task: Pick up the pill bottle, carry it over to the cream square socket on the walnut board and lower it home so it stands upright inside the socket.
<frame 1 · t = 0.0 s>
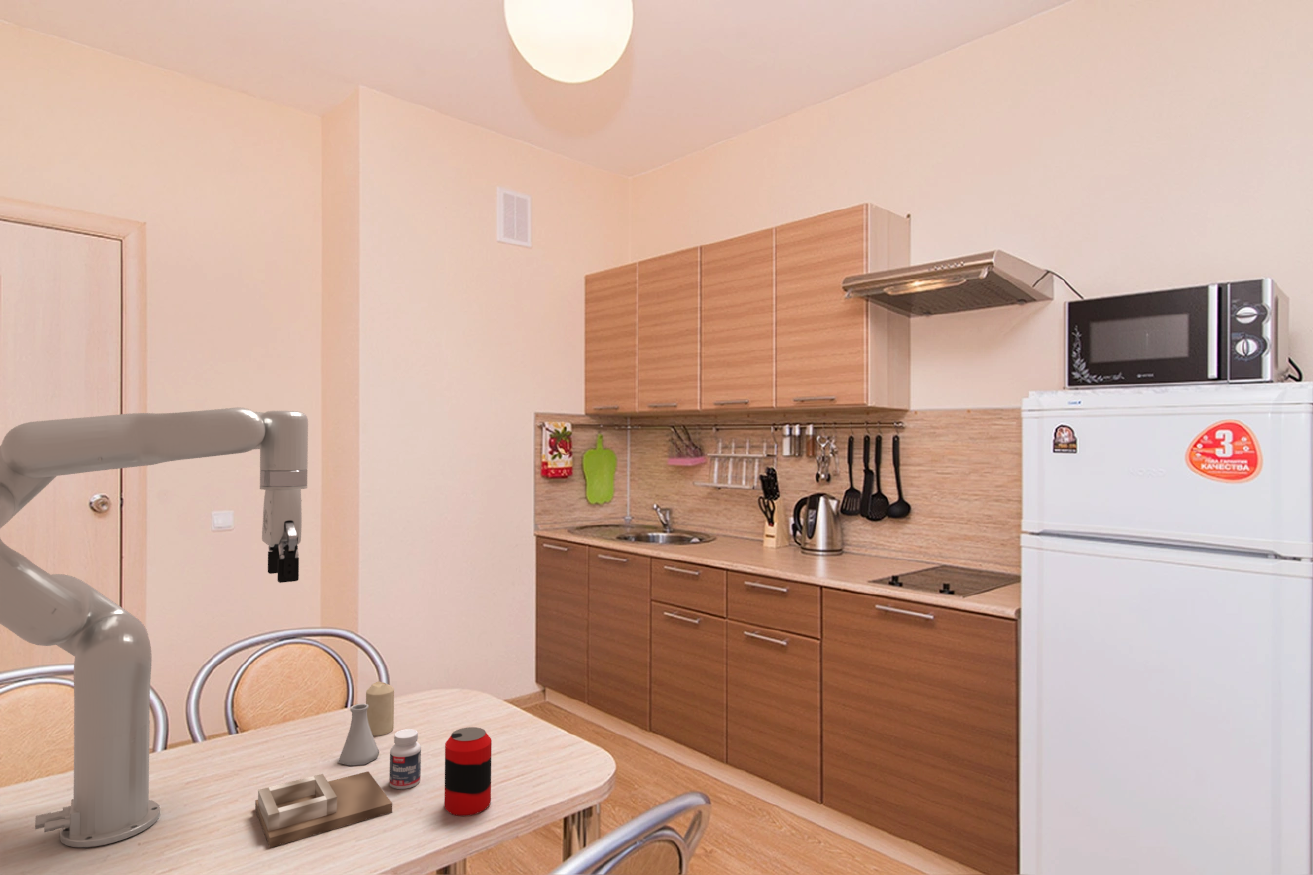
hand: (282, 577, 129), 37 cm above the table, tool pointing down, fingers open, 9 cm apart
pill bottle: (405, 783, 130), on the table
socket board: (323, 810, 120), on the table
soda can: (467, 806, 122), on the table
candle: (379, 731, 153), on the table
flask: (359, 759, 140), on the table
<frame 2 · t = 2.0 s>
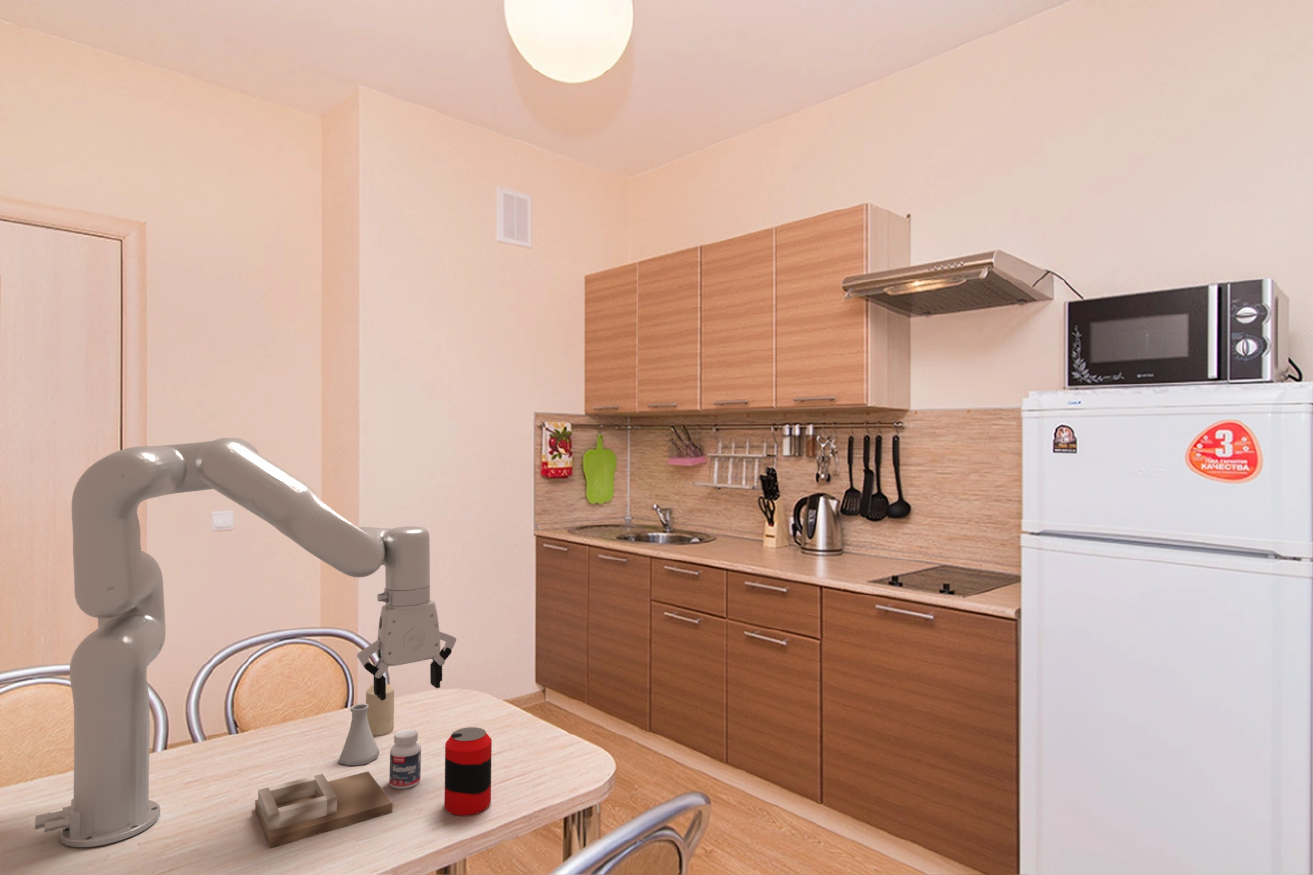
hand: (408, 691, 130), 16 cm above the table, tool pointing down, fingers open, 9 cm apart
nothing on the table moved.
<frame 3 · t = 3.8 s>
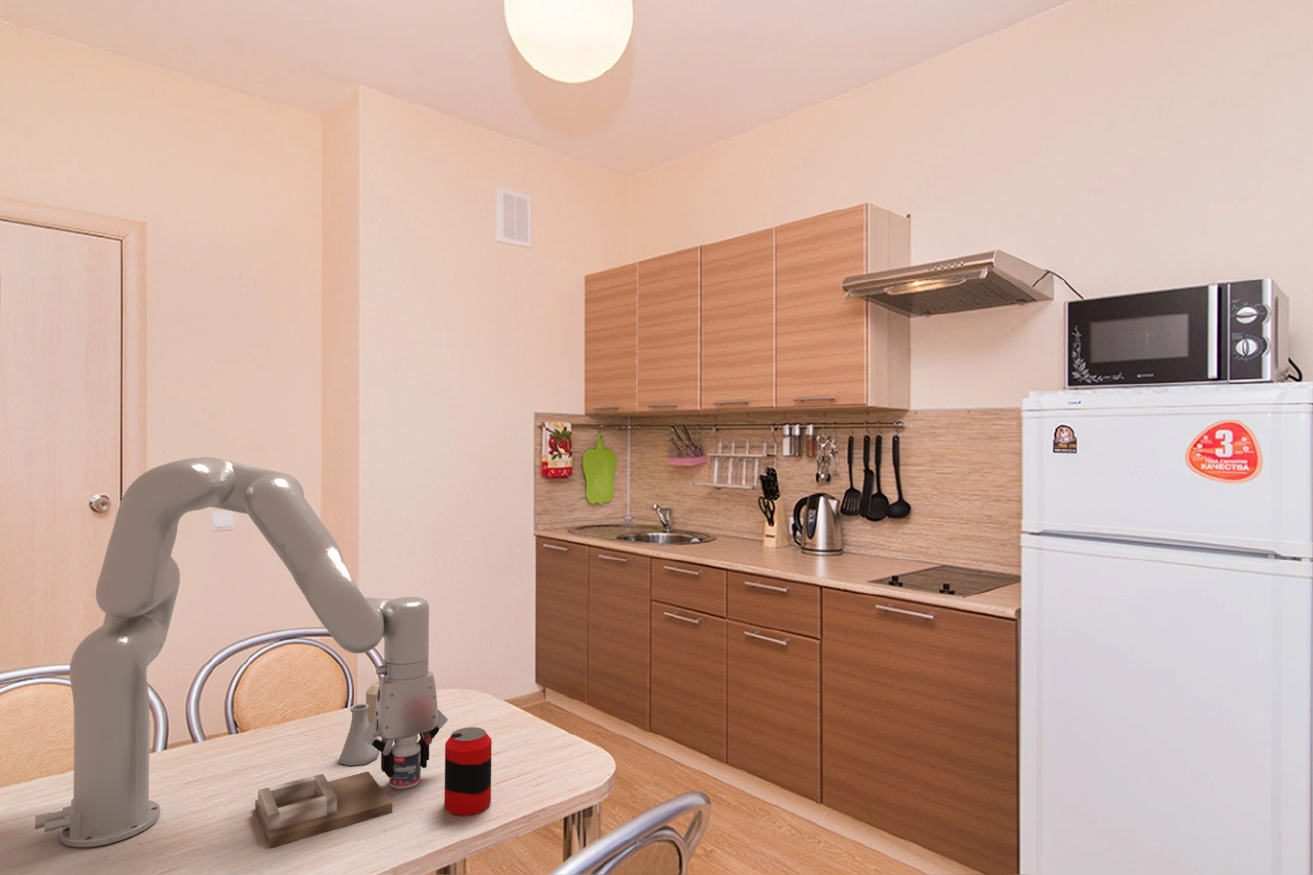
hand: (405, 768, 130), 3 cm above the table, tool pointing down, fingers closed on pill bottle, 5 cm apart
pill bottle: (405, 783, 130), on the table, touching gripper
everything else where it was.
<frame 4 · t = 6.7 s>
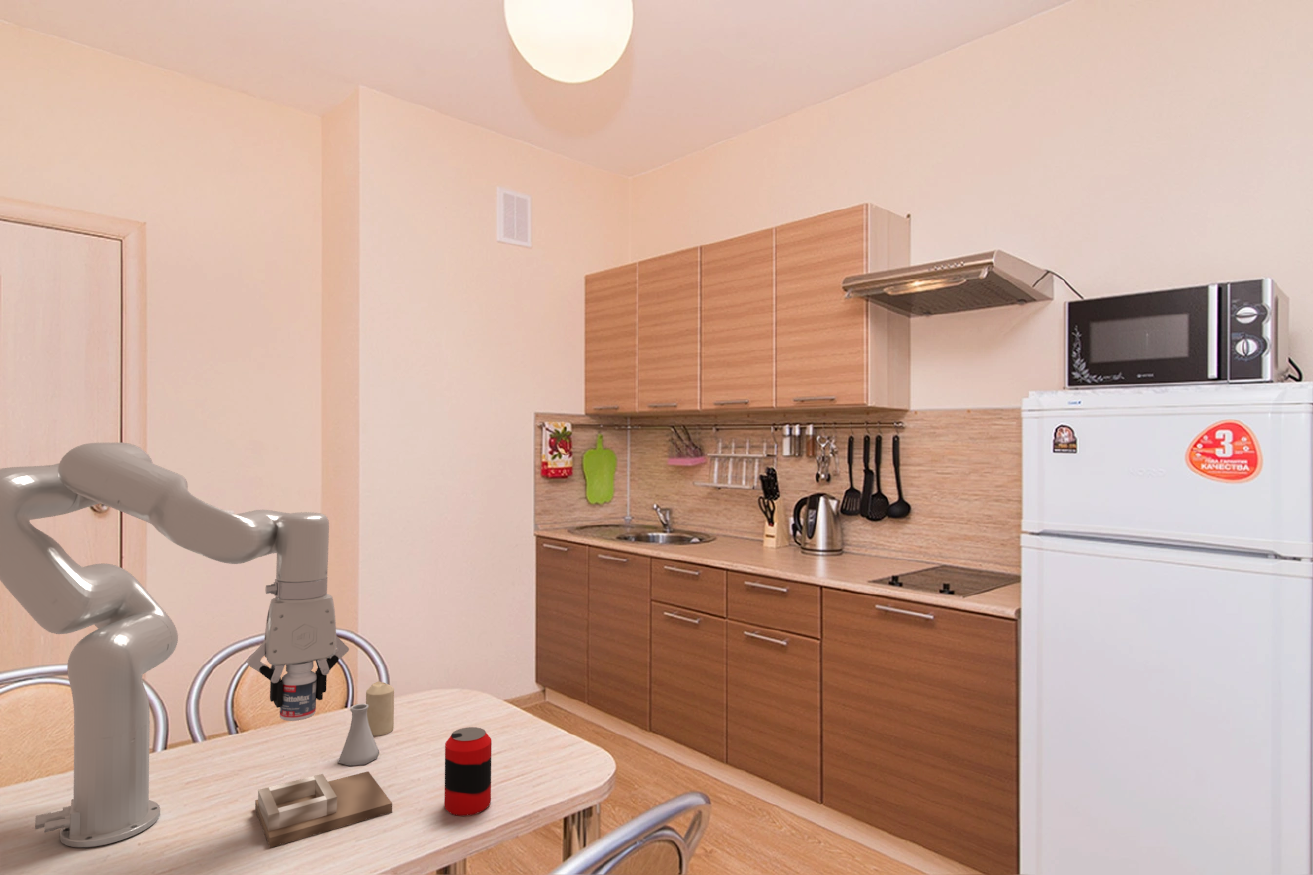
hand: (298, 699, 118), 19 cm above the table, tool pointing down, fingers closed on pill bottle, 5 cm apart
pill bottle: (297, 716, 118), point 16 cm above the table, touching gripper
everything else where it was.
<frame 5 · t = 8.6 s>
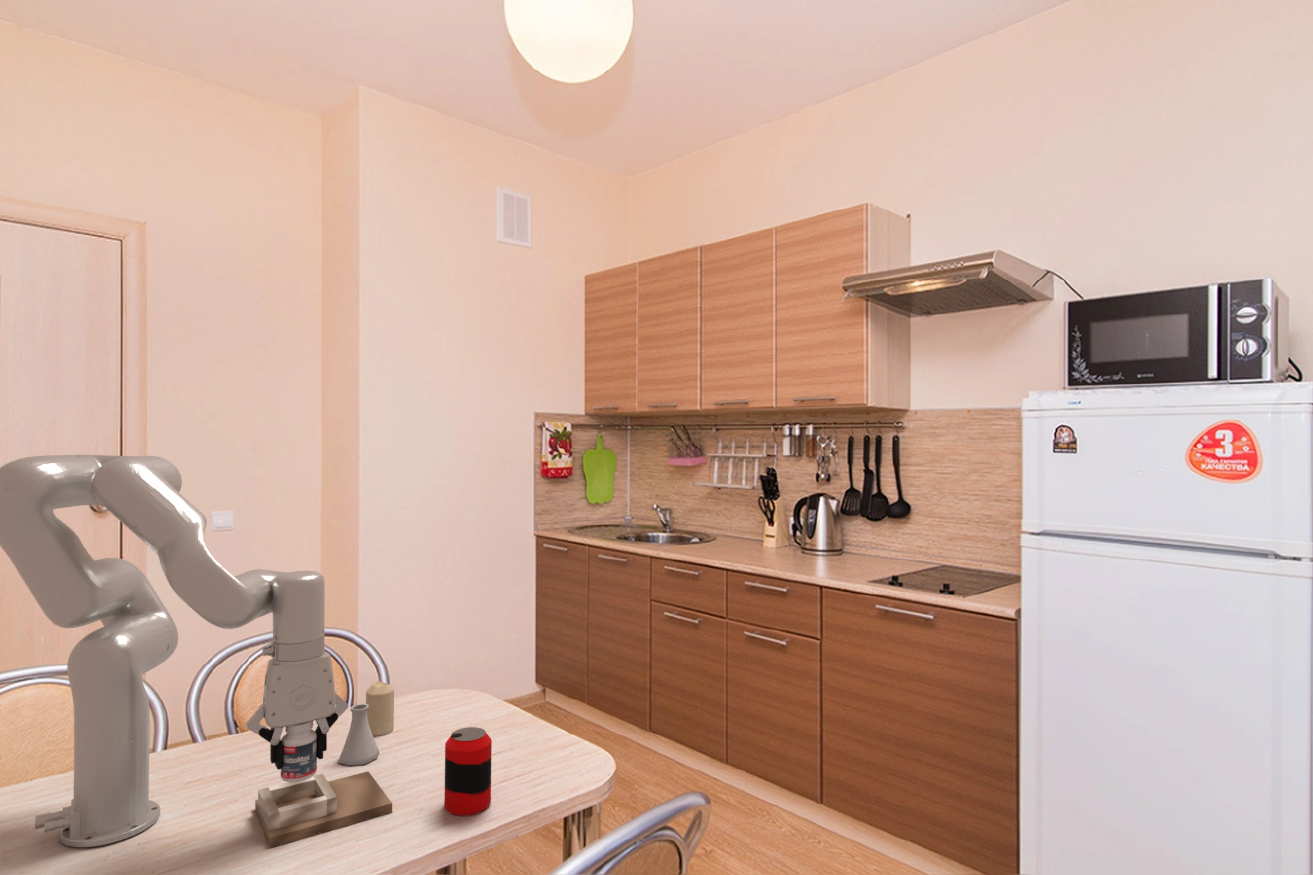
hand: (299, 759, 118), 9 cm above the table, tool pointing down, fingers closed on pill bottle, 5 cm apart
pill bottle: (299, 776, 118), point 7 cm above the table, touching gripper
everything else where it was.
when the fingers open (5 cm above the table, at t = 9.9 s): pill bottle stays where it is, resting on socket board.
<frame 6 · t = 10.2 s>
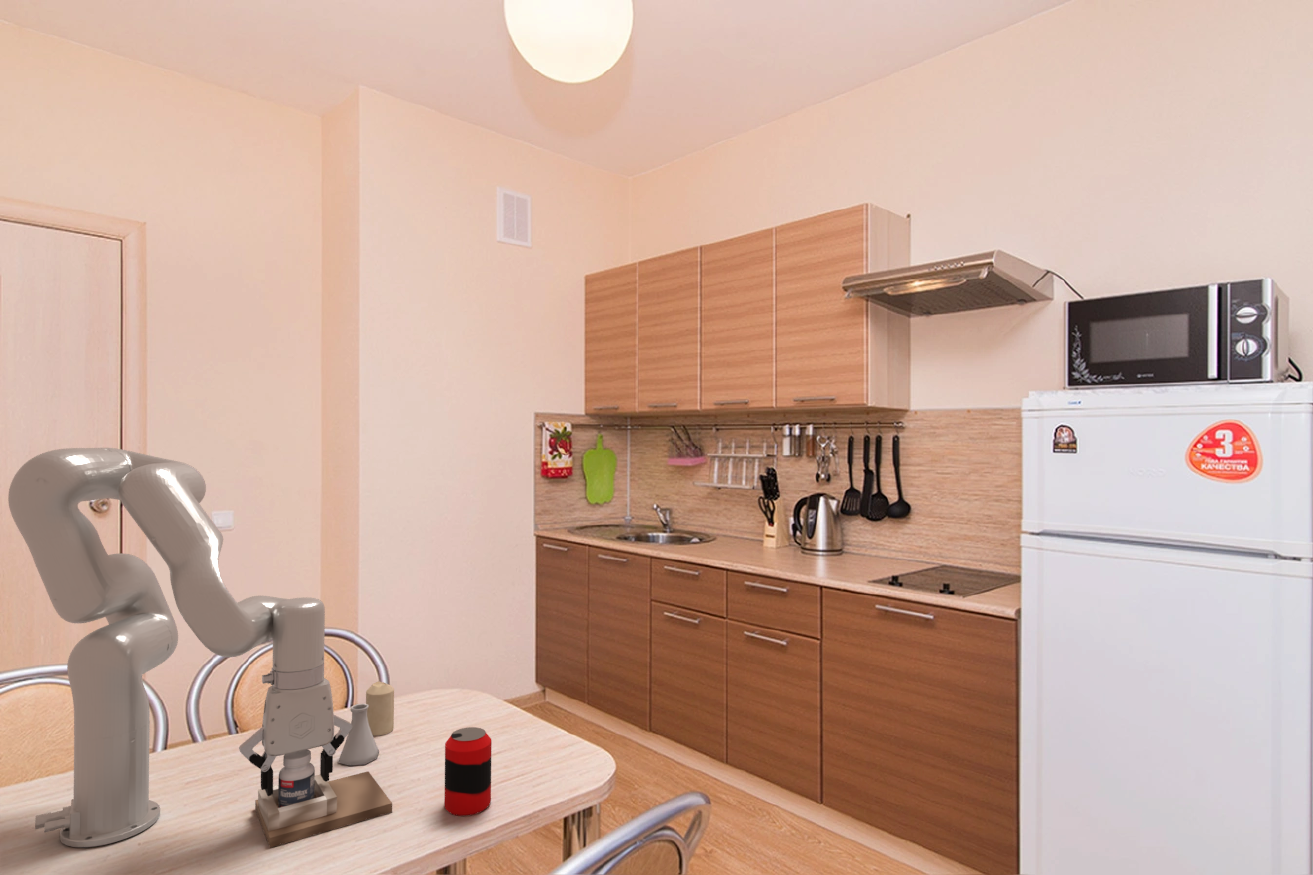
hand: (297, 784, 118), 5 cm above the table, tool pointing down, fingers open, 7 cm apart
pill bottle: (296, 809, 118), point 1 cm above the table, touching socket board
everything else where it was.
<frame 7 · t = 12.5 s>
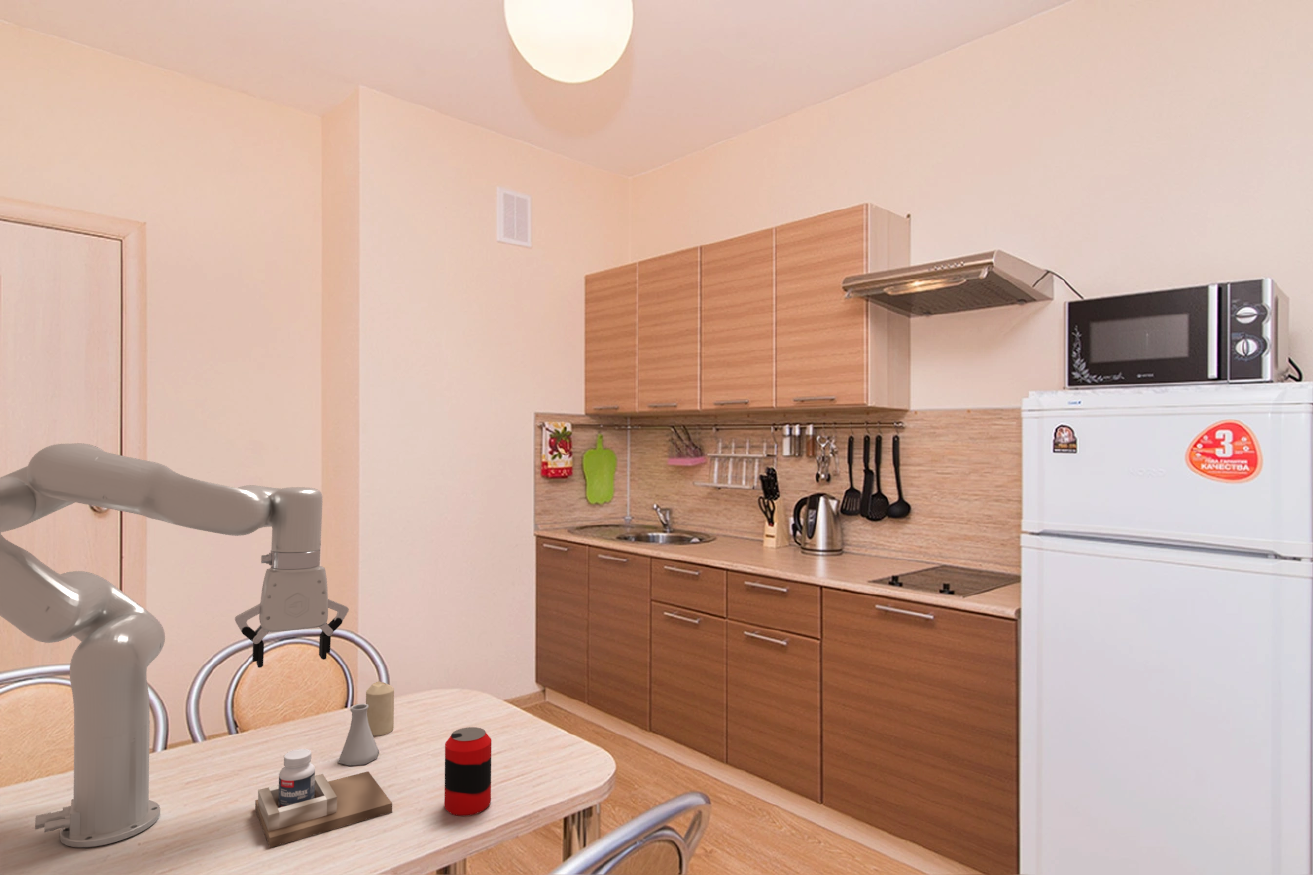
hand: (291, 661, 123), 24 cm above the table, tool pointing down, fingers open, 9 cm apart
nothing on the table moved.
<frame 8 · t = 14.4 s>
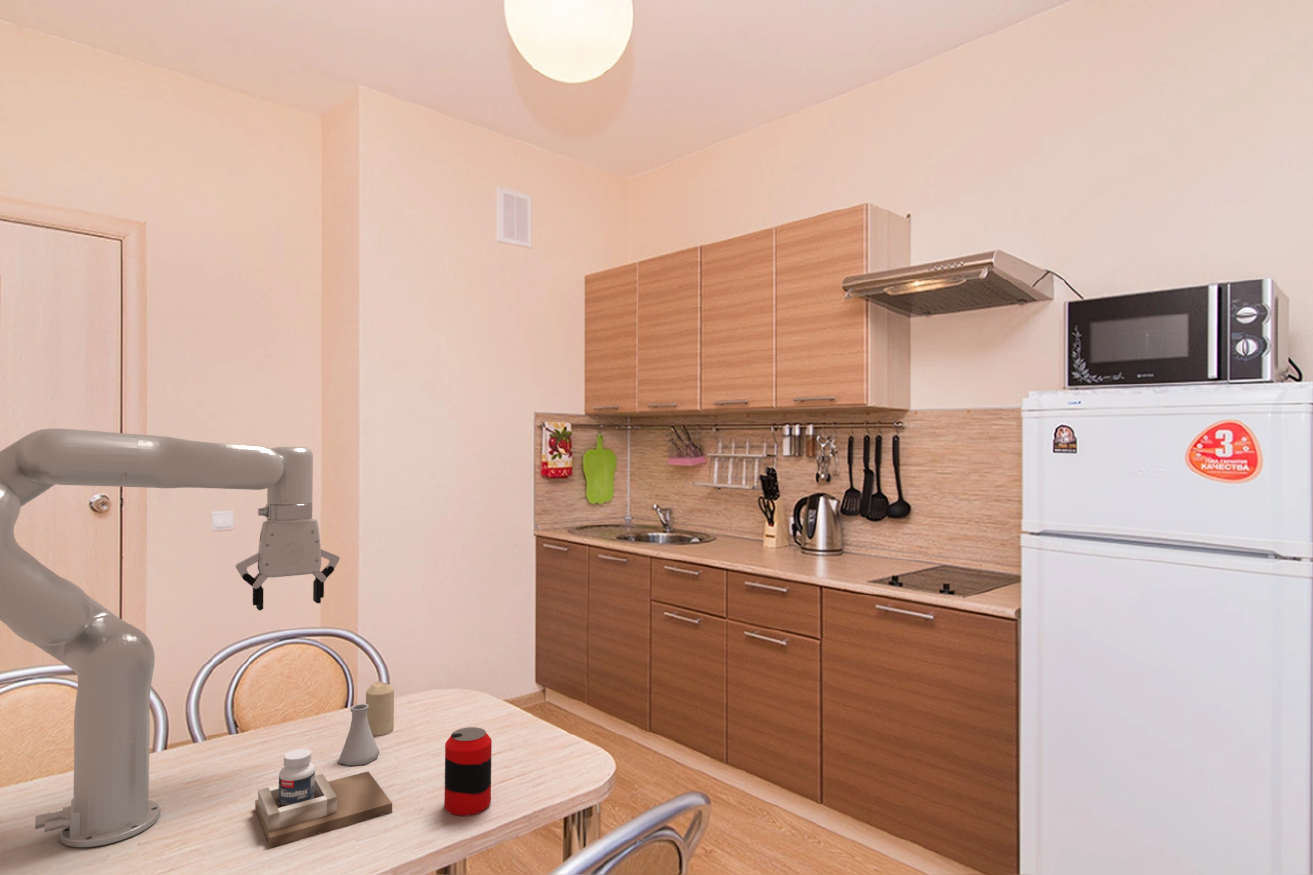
hand: (288, 605, 135), 30 cm above the table, tool pointing down, fingers open, 9 cm apart
nothing on the table moved.
at the end: pill bottle 0.1 cm from the target spot on the socket board, point 1.3 cm above the socket board's base; pill bottle tilted 0°; the gripper is holding nothing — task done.
